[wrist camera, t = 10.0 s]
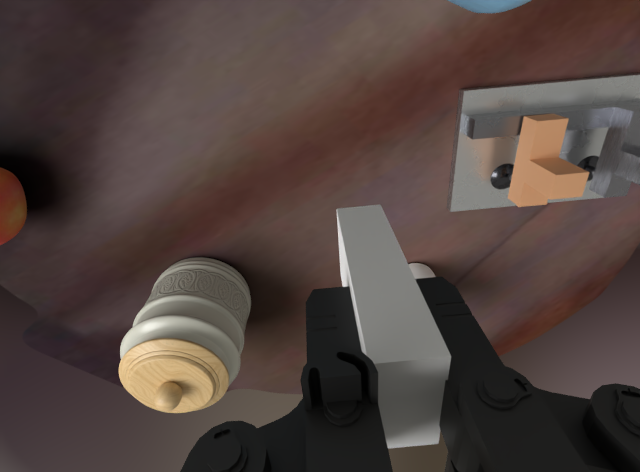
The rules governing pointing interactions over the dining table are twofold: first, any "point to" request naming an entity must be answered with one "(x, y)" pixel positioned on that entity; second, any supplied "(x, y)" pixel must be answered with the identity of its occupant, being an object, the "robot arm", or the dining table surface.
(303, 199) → the dining table surface
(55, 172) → the dining table surface
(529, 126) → the orange t-shaped block
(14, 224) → the apple
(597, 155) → the grey assembly fixture
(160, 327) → the jar
